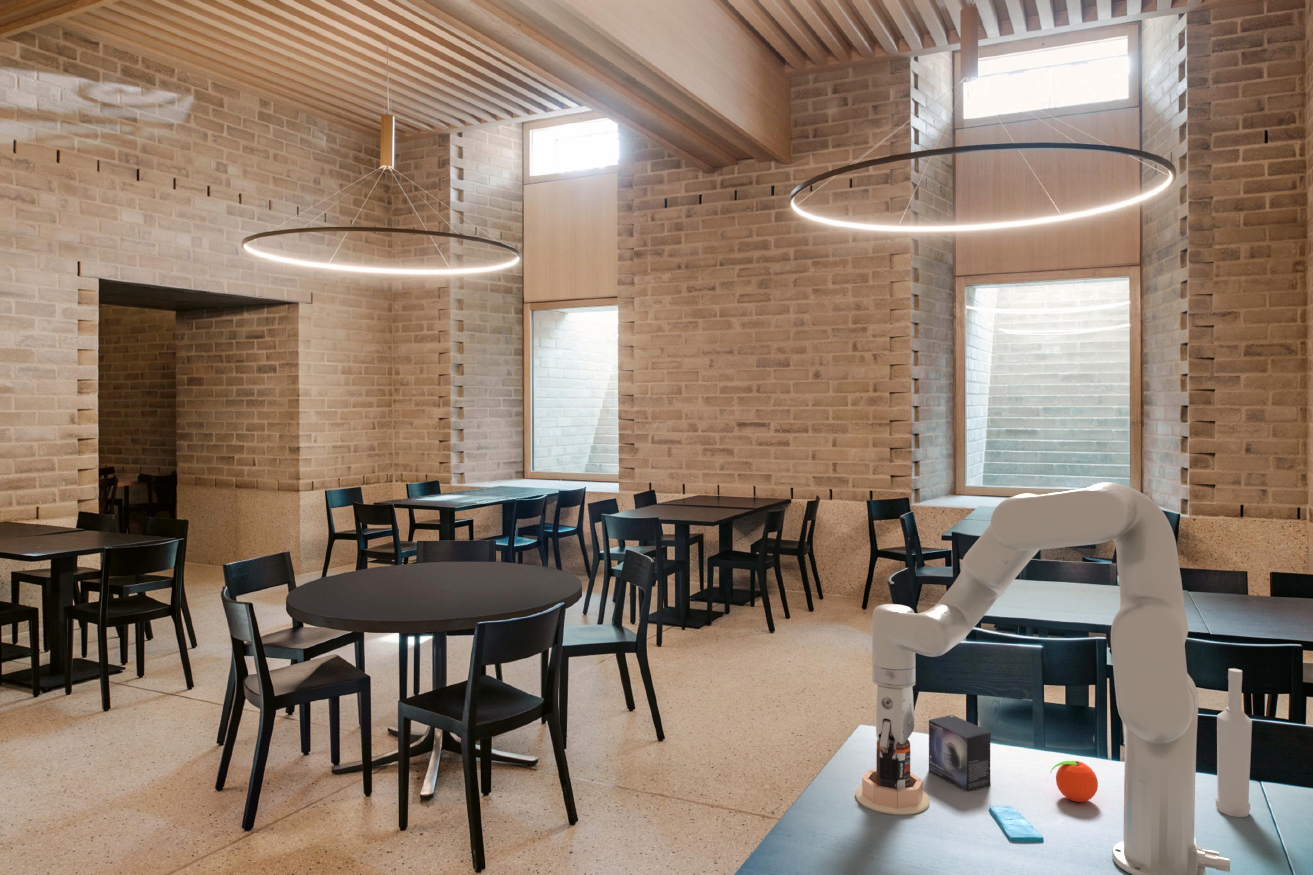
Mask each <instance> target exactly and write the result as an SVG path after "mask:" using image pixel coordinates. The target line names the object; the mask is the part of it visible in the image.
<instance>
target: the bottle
mask: <svg viewBox="0 0 1313 875" xmlns="http://www.w3.org/2000/svg"><path fill="white" fill-rule="evenodd" d="M1227 673H1228V674H1227V680H1228V693H1227V695H1228V696H1227V706H1226V707H1225V709H1224V710H1223V711H1221V712H1220V713H1218V714H1217V715H1216V723H1217V724H1216V732H1217V733H1216V738H1217V739H1216V745H1217V747H1216V750H1217V752H1216V756H1217V758H1216V762H1217V763H1216V770H1217V772H1216V774H1217V776H1216V778H1217V780H1216V781H1217V782H1216V783H1217V795H1216V797H1215V806H1216V809H1217V811H1218V812H1220V813H1221V814H1224V815H1226V816H1230V817H1235V818H1246V817H1248V816H1249V814H1250V811H1251V804H1250V801H1249V799H1250V798H1249V796H1250V779H1251V778H1250V776H1251V775H1250V774H1251V753H1252V732H1253V731H1252V730H1253V720H1252V719H1251V718H1250V717H1249V716H1248V715H1247V714H1246V713H1245V712H1244V709H1243V707H1242V694H1243V693H1242V692H1243V691H1242V686H1243V683H1242V682H1243V670H1242V669H1238V668H1228V672H1227Z"/></svg>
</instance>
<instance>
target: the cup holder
mask: <svg viewBox="0 0 1313 875" xmlns="http://www.w3.org/2000/svg"><path fill="white" fill-rule="evenodd" d="M876 771H877V769H876V768H873V769H868V770H867V771H866V772H865V774H864V775H863V777H862V778H861V785H859V786H858V787H857V788H856V790H855V799H856V801H857V802H858V803H859V804H861V805H862V806H864V807H865V808H867V809H870V810H872V811H874V812H877V813H882V814H886V815H894V816H910V815H916V814H920V813H922V812H925V811H926V810H927V809H928V808H929V807H930V803H931V802H930V801H931V798H930V796H929V795H928V793H927V792H926V791H924V780H923V779H921V778H920V777H918V776H917V775H916V774H914V773H913V772H912V771H910V787H909V788H902V789H892V788H887V787H882V786H878V785H877V782H876Z"/></svg>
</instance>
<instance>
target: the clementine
mask: <svg viewBox="0 0 1313 875" xmlns="http://www.w3.org/2000/svg"><path fill="white" fill-rule="evenodd" d="M1056 767H1058V769H1057V771H1056V774H1055V781H1056V786H1057V789H1058V790H1059V792H1060V793H1061V794H1062V795H1063V796H1064V797H1065V798H1066V799H1067V800H1070V801H1073V802H1076V803H1079V802H1080V803H1084V802H1087V801H1090V800H1091V799H1093V797H1095V795H1096V794H1097V791H1098V787H1099V783H1098V778H1097V775H1096V772H1094V770H1093V769H1092V768H1091V766H1089V765H1087V764H1086V763H1084V762H1082V761H1078V760H1065V761H1064V760H1063V761H1061V762H1059V763H1057V764H1054V766H1053V767H1052V768H1051V770H1050V773H1049V774H1051V773H1052V772H1053V770H1054V769H1055V768H1056Z"/></svg>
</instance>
